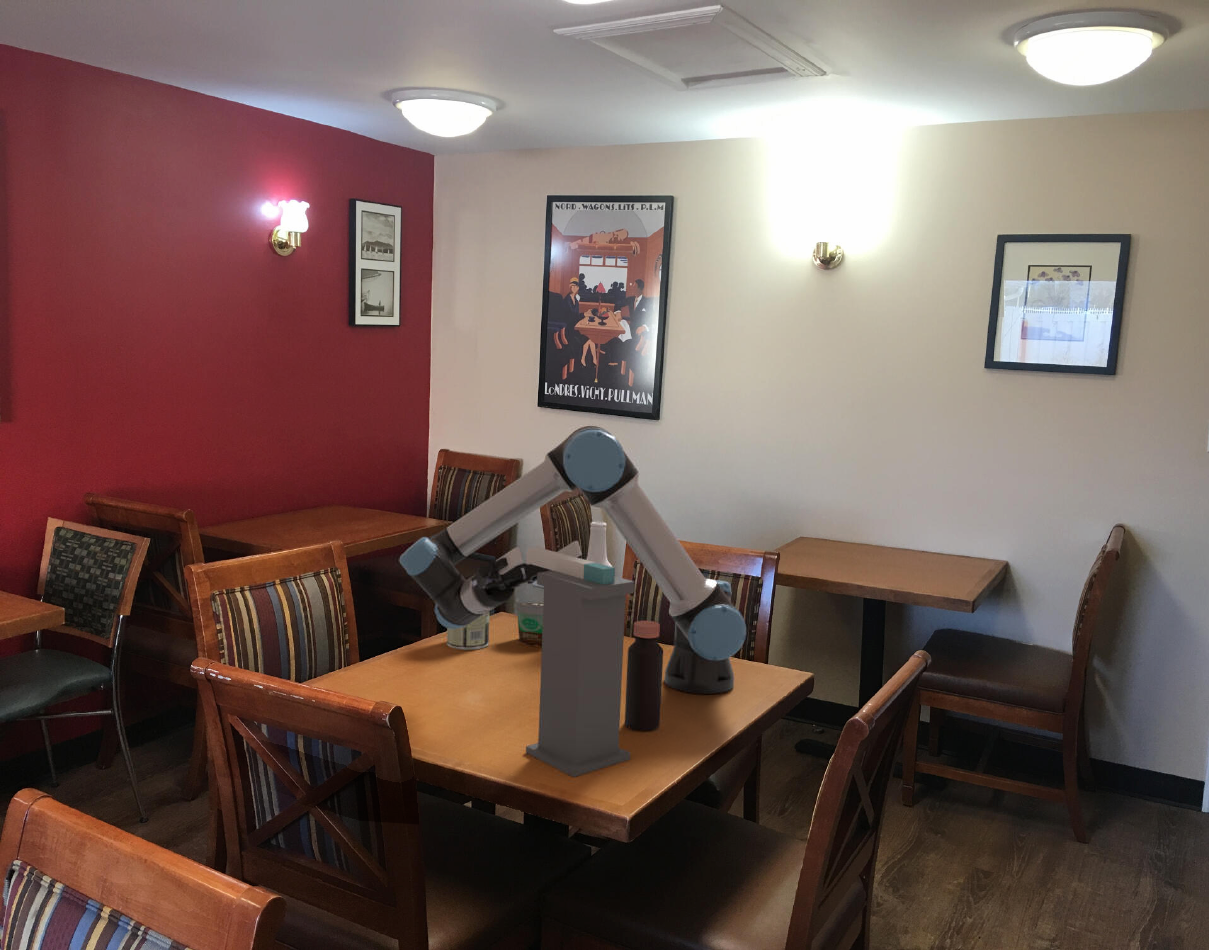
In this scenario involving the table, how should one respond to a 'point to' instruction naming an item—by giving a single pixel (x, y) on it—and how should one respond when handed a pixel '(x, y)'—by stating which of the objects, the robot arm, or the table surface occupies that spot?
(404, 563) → the robot arm
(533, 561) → the beige teal square bar
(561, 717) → the shelf stand
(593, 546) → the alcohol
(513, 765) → the table surface
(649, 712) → the bottle
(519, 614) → the food container
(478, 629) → the coffee can
